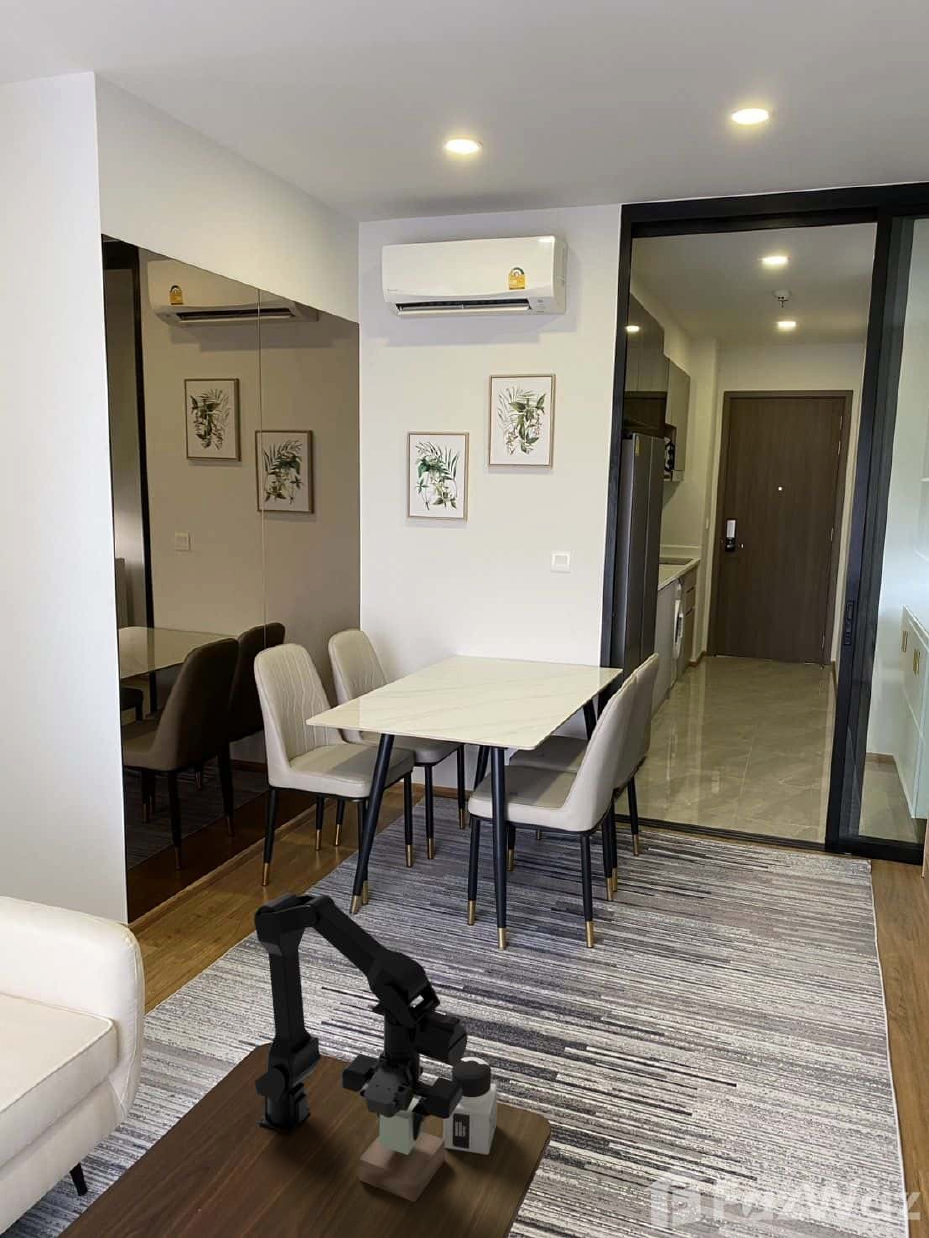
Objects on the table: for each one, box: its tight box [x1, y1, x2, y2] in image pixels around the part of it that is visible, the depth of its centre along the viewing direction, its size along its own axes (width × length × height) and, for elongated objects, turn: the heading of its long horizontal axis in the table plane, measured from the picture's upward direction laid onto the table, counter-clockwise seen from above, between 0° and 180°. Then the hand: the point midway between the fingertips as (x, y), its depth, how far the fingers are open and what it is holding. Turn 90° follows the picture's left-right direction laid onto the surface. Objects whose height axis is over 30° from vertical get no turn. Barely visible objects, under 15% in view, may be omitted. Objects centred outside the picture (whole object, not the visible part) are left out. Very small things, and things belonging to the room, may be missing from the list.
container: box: [442, 1056, 498, 1156], centre depth 155 cm, size 8×8×13 cm
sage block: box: [378, 1097, 423, 1155], centre depth 146 cm, size 5×5×6 cm
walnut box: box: [358, 1131, 446, 1203], centre depth 148 cm, size 10×10×4 cm
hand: (400, 1133), depth 147 cm, fingers closed on sage block, 5 cm apart
